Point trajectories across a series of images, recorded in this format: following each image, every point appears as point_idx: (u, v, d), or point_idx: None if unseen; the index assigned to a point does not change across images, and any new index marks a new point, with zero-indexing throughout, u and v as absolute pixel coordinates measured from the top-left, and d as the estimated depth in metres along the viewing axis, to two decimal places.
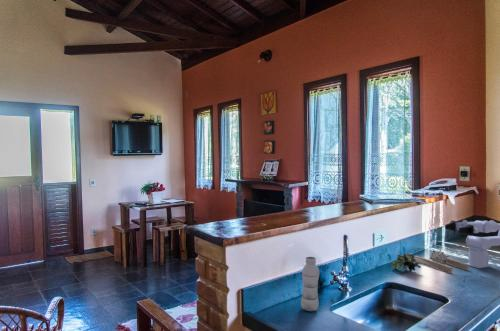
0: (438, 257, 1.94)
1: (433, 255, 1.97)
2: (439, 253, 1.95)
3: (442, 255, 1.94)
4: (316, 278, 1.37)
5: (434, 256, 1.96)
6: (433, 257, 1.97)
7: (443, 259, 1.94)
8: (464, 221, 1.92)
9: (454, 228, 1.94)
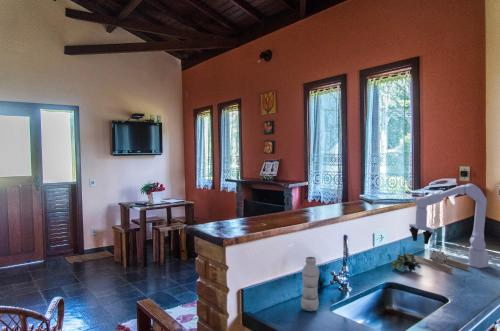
0: (438, 257, 1.94)
1: (433, 255, 1.97)
2: (439, 253, 1.95)
3: (442, 255, 1.94)
4: (316, 278, 1.37)
5: (434, 256, 1.96)
6: (433, 257, 1.97)
7: (443, 259, 1.94)
8: (416, 228, 2.06)
9: (416, 230, 2.11)
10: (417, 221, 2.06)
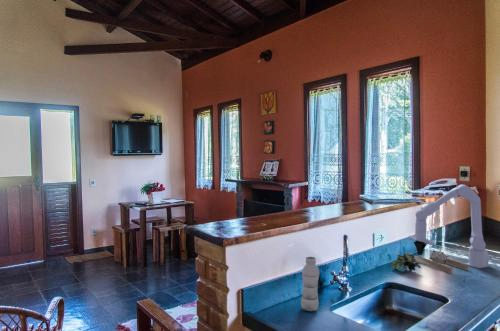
0: (438, 257, 1.94)
1: (433, 255, 1.97)
2: (439, 253, 1.95)
3: (442, 255, 1.94)
4: (316, 278, 1.37)
5: (434, 256, 1.96)
6: (433, 257, 1.97)
7: (443, 259, 1.94)
8: (416, 240, 2.07)
9: None
10: (417, 233, 2.07)
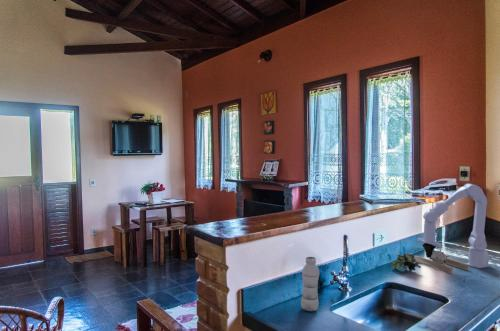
0: (438, 257, 1.94)
1: (433, 255, 1.97)
2: (439, 253, 1.95)
3: (442, 255, 1.94)
4: (316, 278, 1.37)
5: (434, 256, 1.96)
6: (433, 257, 1.97)
7: (443, 259, 1.94)
8: (424, 242, 2.01)
9: None
10: (425, 236, 2.01)
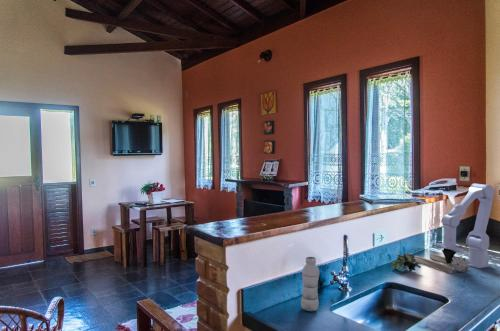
0: (459, 263, 1.83)
1: (454, 261, 1.86)
2: (460, 259, 1.84)
3: (463, 261, 1.83)
4: (316, 278, 1.37)
5: (455, 262, 1.85)
6: (454, 263, 1.86)
7: (465, 266, 1.83)
8: (444, 248, 1.90)
9: None
10: (445, 241, 1.90)
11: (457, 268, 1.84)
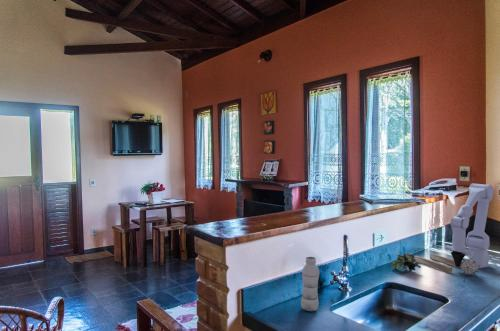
0: (469, 267, 1.79)
1: (463, 264, 1.81)
2: (470, 262, 1.80)
3: (473, 264, 1.79)
4: (316, 278, 1.37)
5: (465, 265, 1.80)
6: (463, 266, 1.81)
7: (475, 269, 1.78)
8: (453, 250, 1.86)
9: None
10: (454, 243, 1.86)
11: (467, 271, 1.80)
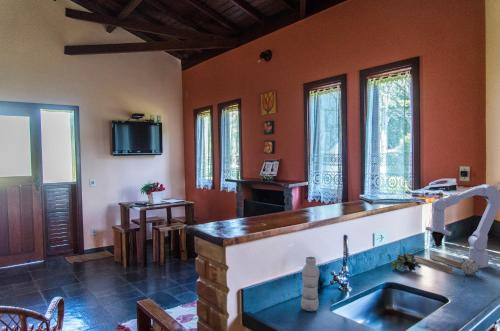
0: (469, 267, 1.79)
1: (463, 264, 1.81)
2: (470, 262, 1.80)
3: (473, 264, 1.79)
4: (316, 278, 1.37)
5: (465, 265, 1.80)
6: (463, 266, 1.81)
7: (475, 269, 1.78)
8: (433, 231, 2.00)
9: None
10: (434, 224, 2.00)
11: (467, 271, 1.80)
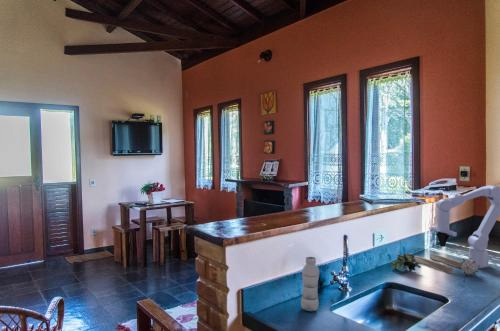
0: (469, 267, 1.79)
1: (463, 264, 1.81)
2: (470, 262, 1.80)
3: (473, 264, 1.79)
4: (316, 278, 1.37)
5: (465, 265, 1.80)
6: (463, 266, 1.81)
7: (475, 269, 1.78)
8: (438, 231, 1.98)
9: None
10: (439, 224, 1.98)
11: (467, 271, 1.80)
